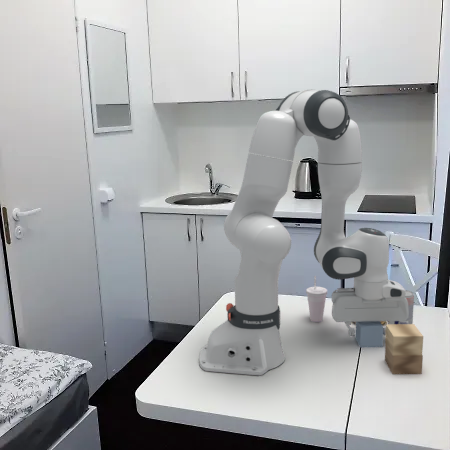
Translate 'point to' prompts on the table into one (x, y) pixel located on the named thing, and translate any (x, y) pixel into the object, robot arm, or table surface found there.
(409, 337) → the tower top
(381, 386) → the table surface
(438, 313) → the table surface
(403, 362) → the tower base
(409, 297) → the energy drink
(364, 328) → the blue block
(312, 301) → the smoothie
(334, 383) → the table surface
